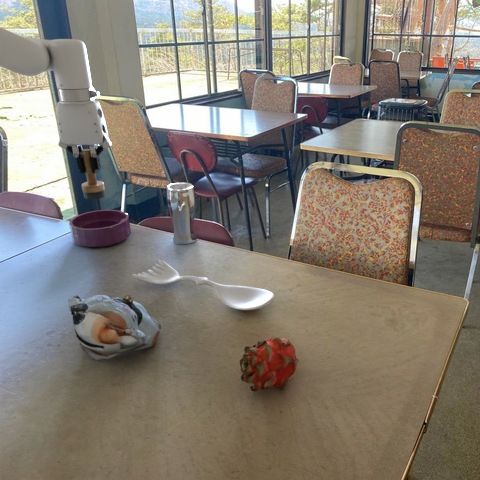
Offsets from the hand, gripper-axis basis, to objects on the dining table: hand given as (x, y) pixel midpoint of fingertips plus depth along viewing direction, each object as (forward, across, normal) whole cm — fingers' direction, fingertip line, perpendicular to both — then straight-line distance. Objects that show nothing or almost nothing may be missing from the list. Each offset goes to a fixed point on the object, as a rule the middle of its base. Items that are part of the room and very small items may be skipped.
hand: (90, 171), depth 120 cm
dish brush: (+7, 0, 0) cm, 7 cm away
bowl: (+19, 0, -1) cm, 19 cm away
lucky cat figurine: (+19, -21, +47) cm, 55 cm away
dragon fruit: (+19, -48, +56) cm, 76 cm away
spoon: (+19, -32, +28) cm, 47 cm away
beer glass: (+19, -22, 0) cm, 29 cm away
